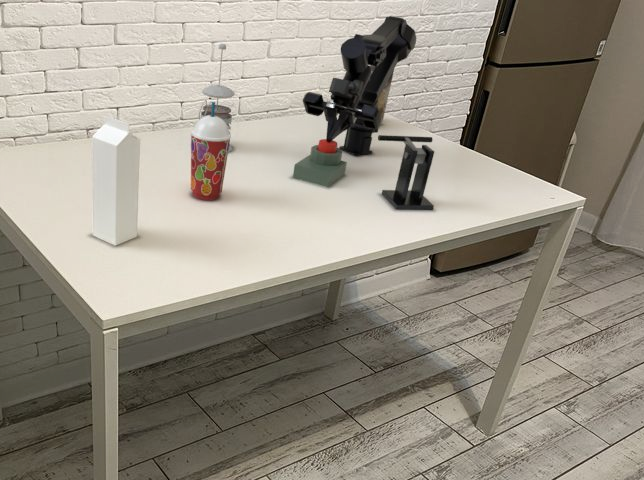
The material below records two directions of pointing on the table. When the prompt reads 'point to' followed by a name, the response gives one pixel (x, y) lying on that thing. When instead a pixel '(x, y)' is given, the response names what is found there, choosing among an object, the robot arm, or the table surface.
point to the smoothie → (209, 156)
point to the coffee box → (383, 96)
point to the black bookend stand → (414, 197)
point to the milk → (115, 182)
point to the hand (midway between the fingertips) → (328, 141)
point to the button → (327, 146)
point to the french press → (217, 92)
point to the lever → (409, 140)
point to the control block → (320, 167)
